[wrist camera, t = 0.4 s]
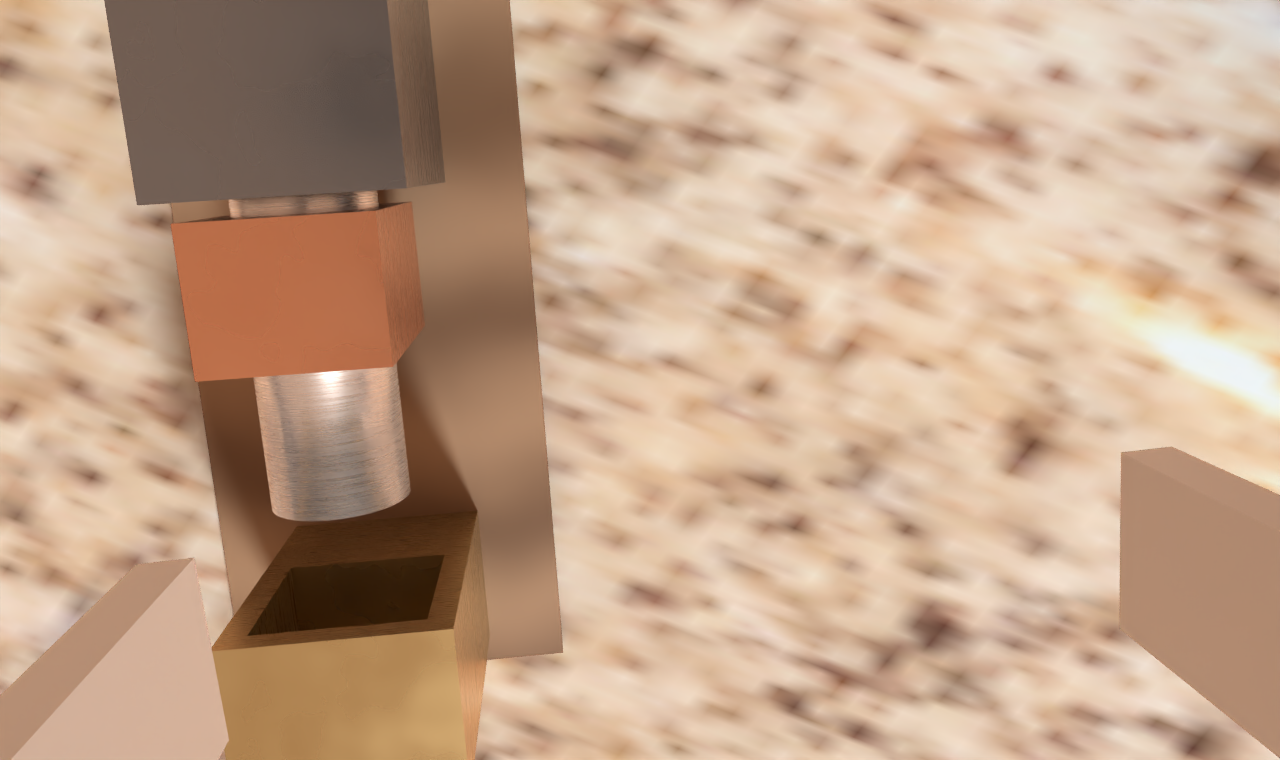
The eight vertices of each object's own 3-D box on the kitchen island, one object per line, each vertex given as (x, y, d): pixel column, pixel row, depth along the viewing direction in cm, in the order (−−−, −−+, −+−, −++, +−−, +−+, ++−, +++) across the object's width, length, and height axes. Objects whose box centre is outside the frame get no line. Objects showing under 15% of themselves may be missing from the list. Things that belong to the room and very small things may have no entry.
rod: (210, -79, 30) (113, -149, 24) (381, -86, 31) (334, -158, 24) (286, 471, 34) (220, 547, 27) (438, 458, 34) (411, 531, 28)
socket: (301, 518, 38) (208, 651, 28) (478, 503, 39) (453, 628, 28) (318, 642, 40) (235, 815, 29) (491, 626, 40) (470, 790, 29)
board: (131, -111, 34) (121, -117, 33) (499, -126, 35) (498, -133, 34) (250, 672, 40) (244, 682, 39) (562, 643, 40) (562, 652, 40)
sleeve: (220, -82, 34) (74, -192, 24) (421, -90, 35) (365, -203, 24) (257, 193, 36) (137, 205, 25) (447, 182, 36) (406, 188, 26)
